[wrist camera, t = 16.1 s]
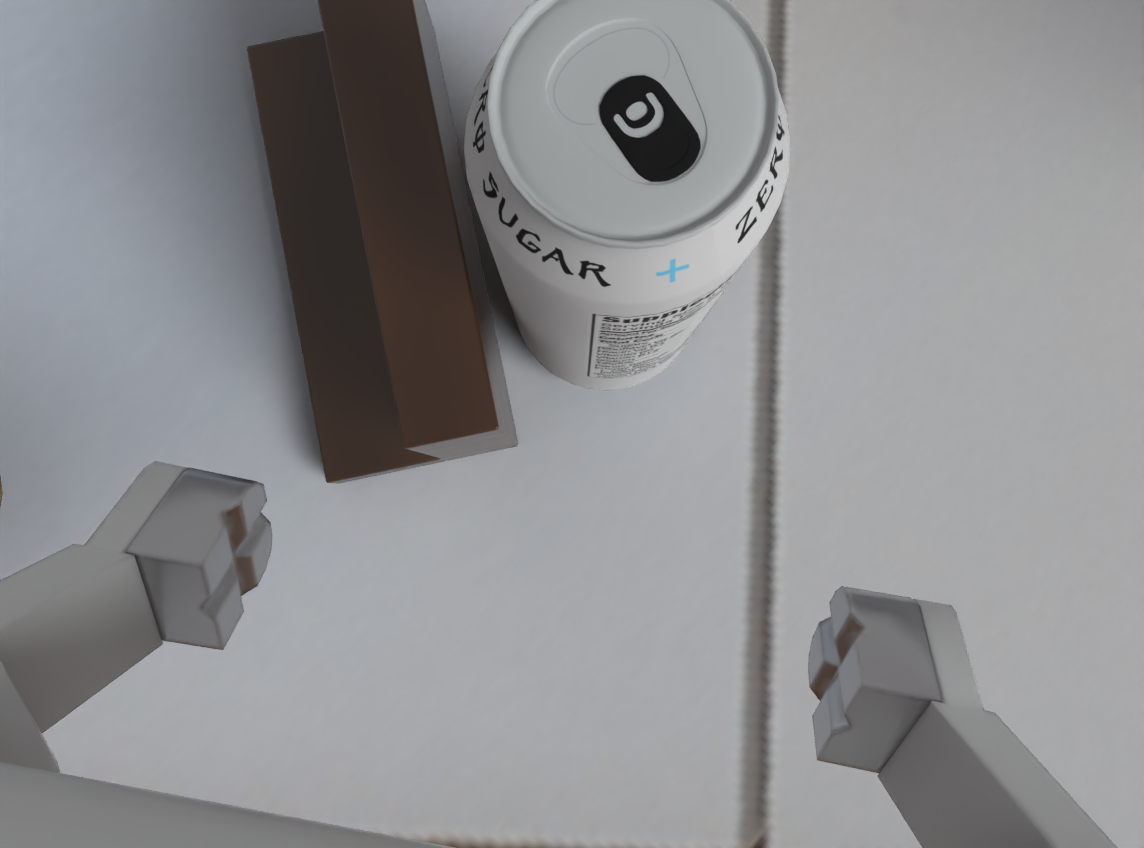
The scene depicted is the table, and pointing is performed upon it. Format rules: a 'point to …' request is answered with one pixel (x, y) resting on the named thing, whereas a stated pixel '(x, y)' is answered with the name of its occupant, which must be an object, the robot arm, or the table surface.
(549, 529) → the table surface
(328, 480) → the walnut wall
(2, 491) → the natural sponge
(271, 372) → the table surface
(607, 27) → the energy drink can
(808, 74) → the table surface
